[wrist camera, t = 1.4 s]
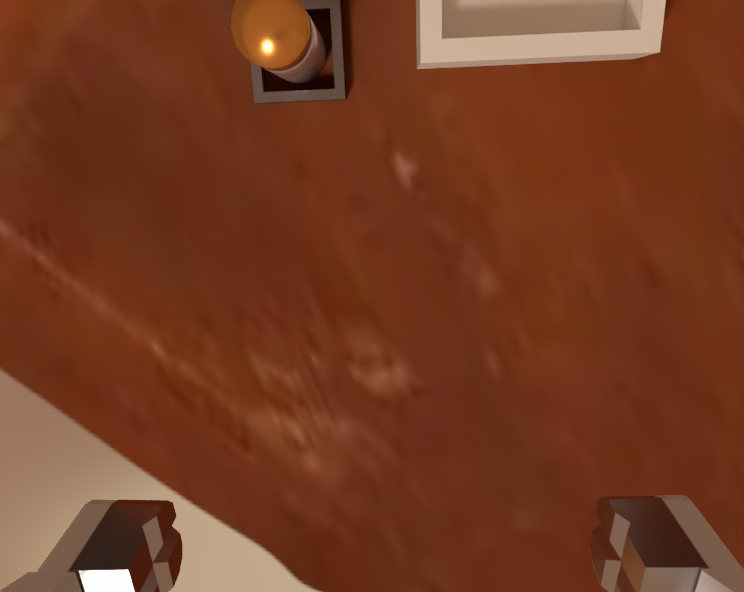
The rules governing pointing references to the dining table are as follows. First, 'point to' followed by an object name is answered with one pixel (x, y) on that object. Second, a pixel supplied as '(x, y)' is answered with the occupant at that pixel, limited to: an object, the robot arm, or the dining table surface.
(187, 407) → the dining table surface
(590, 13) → the tray
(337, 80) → the wheeled grey cart
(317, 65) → the jar with orange lid
